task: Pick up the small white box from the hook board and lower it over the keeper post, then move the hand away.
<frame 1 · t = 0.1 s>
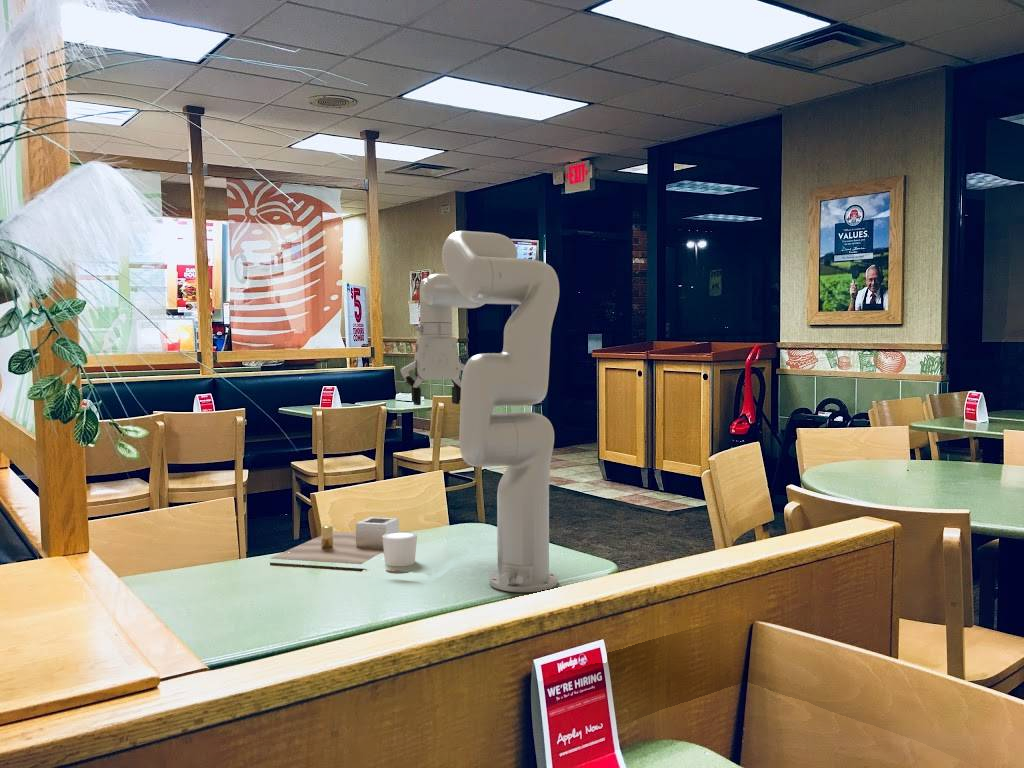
hand: (436, 404, 185), 31 cm above the table, tool pointing down, fingers open, 9 cm apart
keeper post: (327, 547, 169), resting on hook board
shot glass: (400, 570, 156), on the table
small white box: (377, 543, 172), point 1 cm above the table, touching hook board
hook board: (344, 553, 170), on the table
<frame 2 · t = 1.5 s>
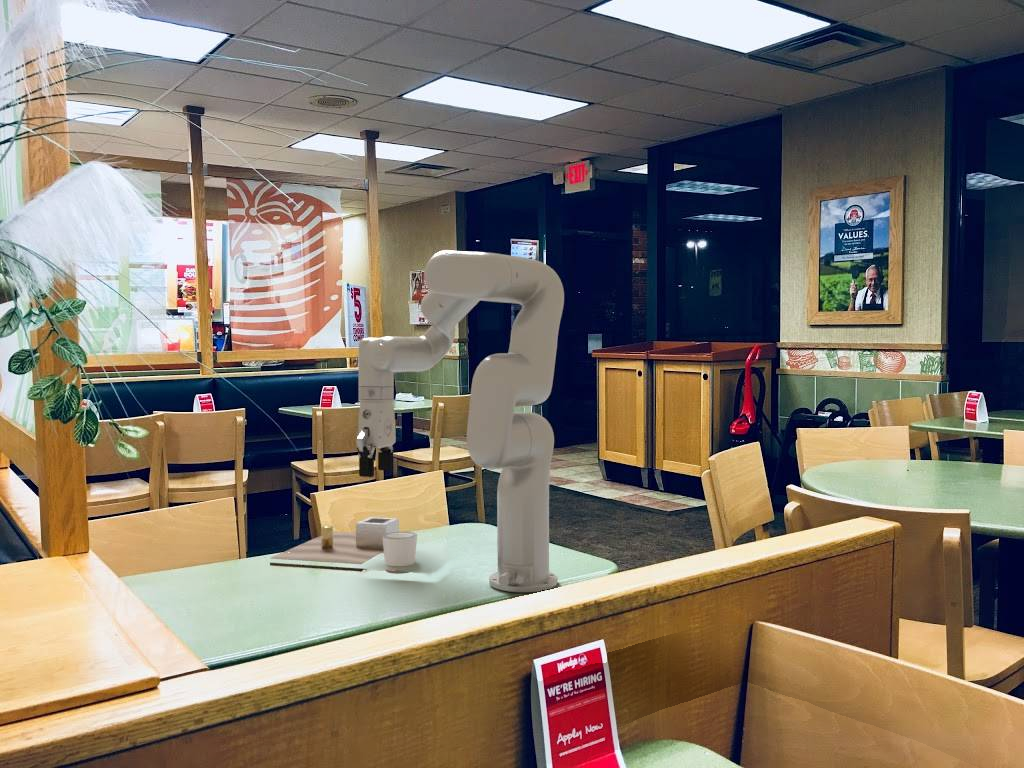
hand: (376, 473, 172), 17 cm above the table, tool pointing down, fingers open, 9 cm apart
nothing on the table moved.
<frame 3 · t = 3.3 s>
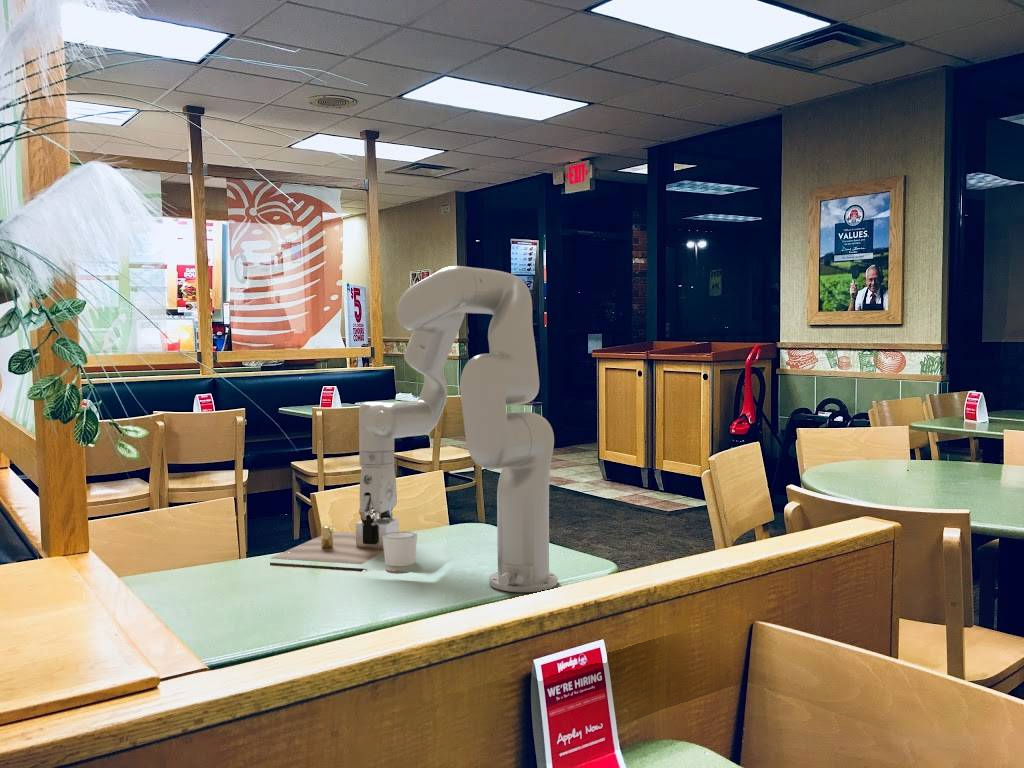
hand: (377, 539, 172), 2 cm above the table, tool pointing down, fingers closed on small white box, 7 cm apart
small white box: (377, 543, 172), point 2 cm above the table, touching gripper, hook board
everything else where it was.
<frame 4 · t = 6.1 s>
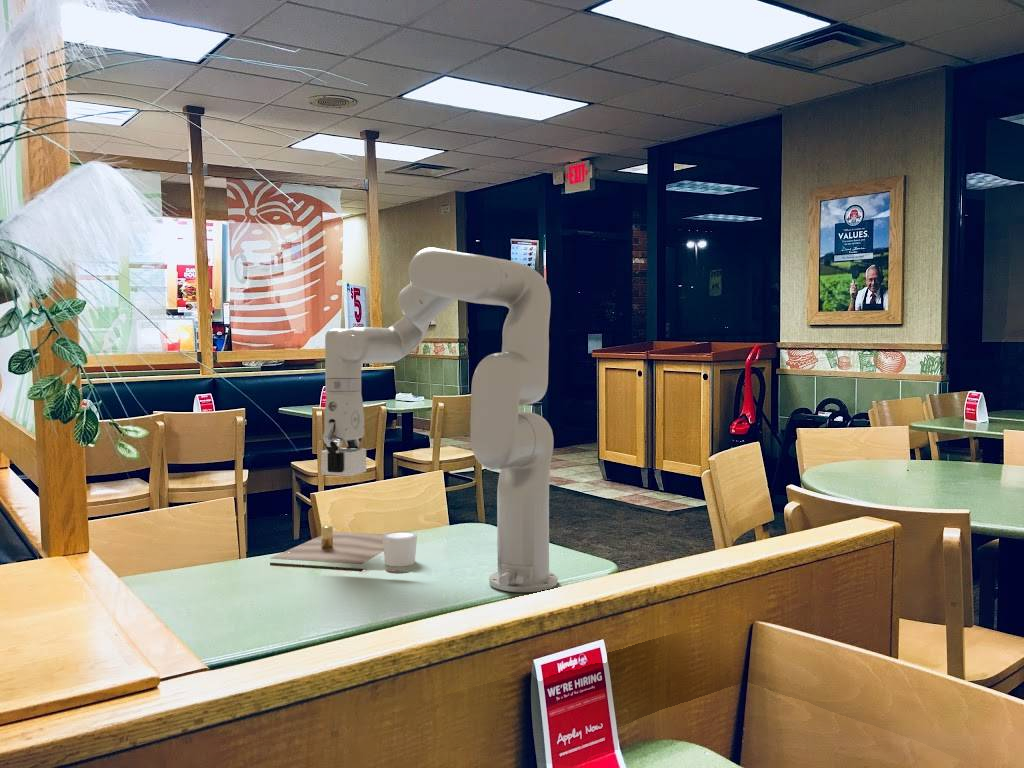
hand: (343, 468, 170), 18 cm above the table, tool pointing down, fingers closed on small white box, 7 cm apart
small white box: (344, 473, 170), point 17 cm above the table, touching gripper
everything else where it was.
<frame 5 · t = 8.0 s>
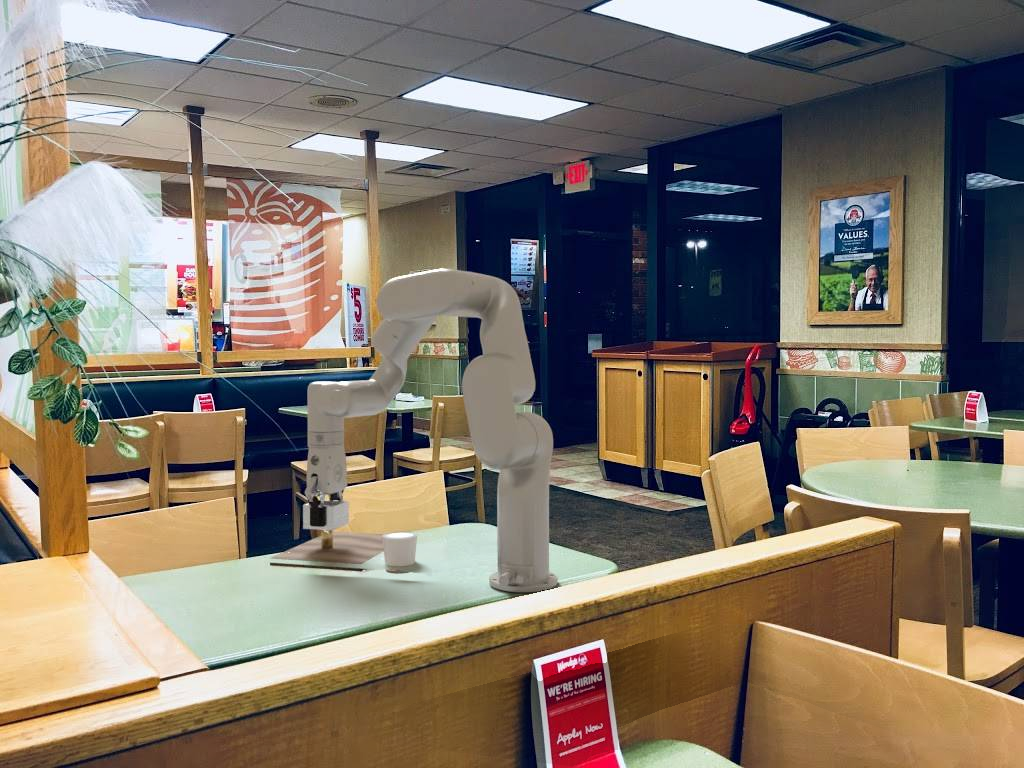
hand: (326, 521, 169), 7 cm above the table, tool pointing down, fingers closed on small white box, 7 cm apart
small white box: (326, 526, 169), point 6 cm above the table, touching gripper
everything else where it was.
when the fingers open (4 cm above the table, at t = 9.3 s): small white box drops 1 cm, resting on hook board.
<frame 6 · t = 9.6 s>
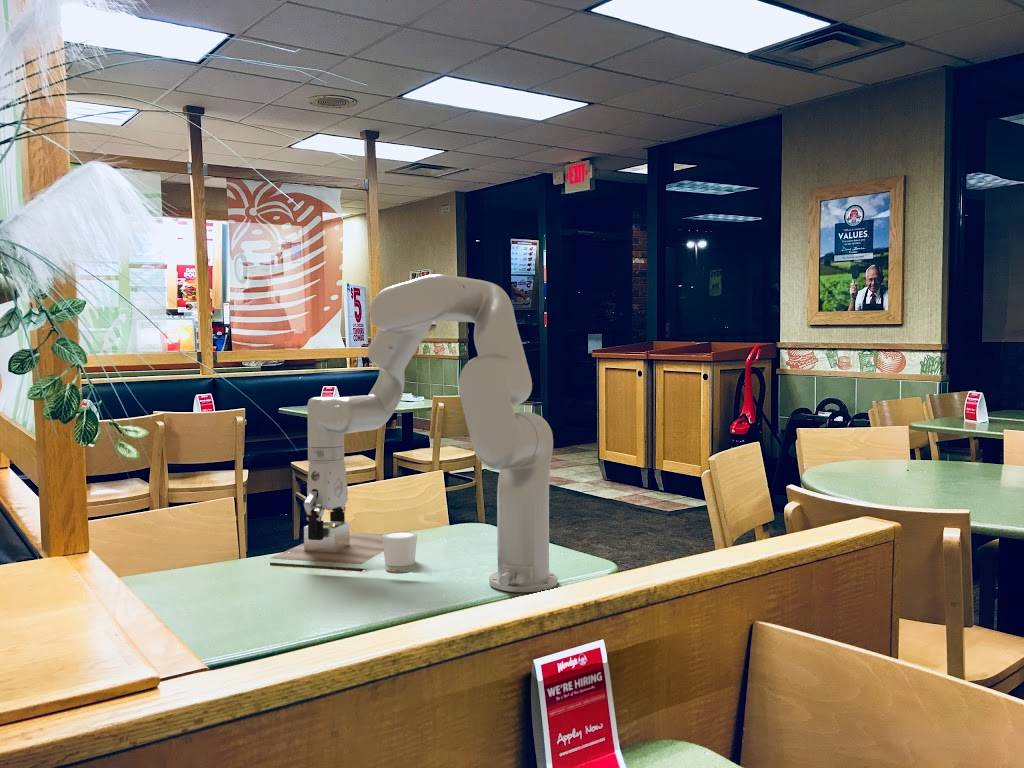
hand: (327, 534, 169), 4 cm above the table, tool pointing down, fingers open, 9 cm apart
small white box: (327, 547, 169), point 1 cm above the table, touching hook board
everything else where it was.
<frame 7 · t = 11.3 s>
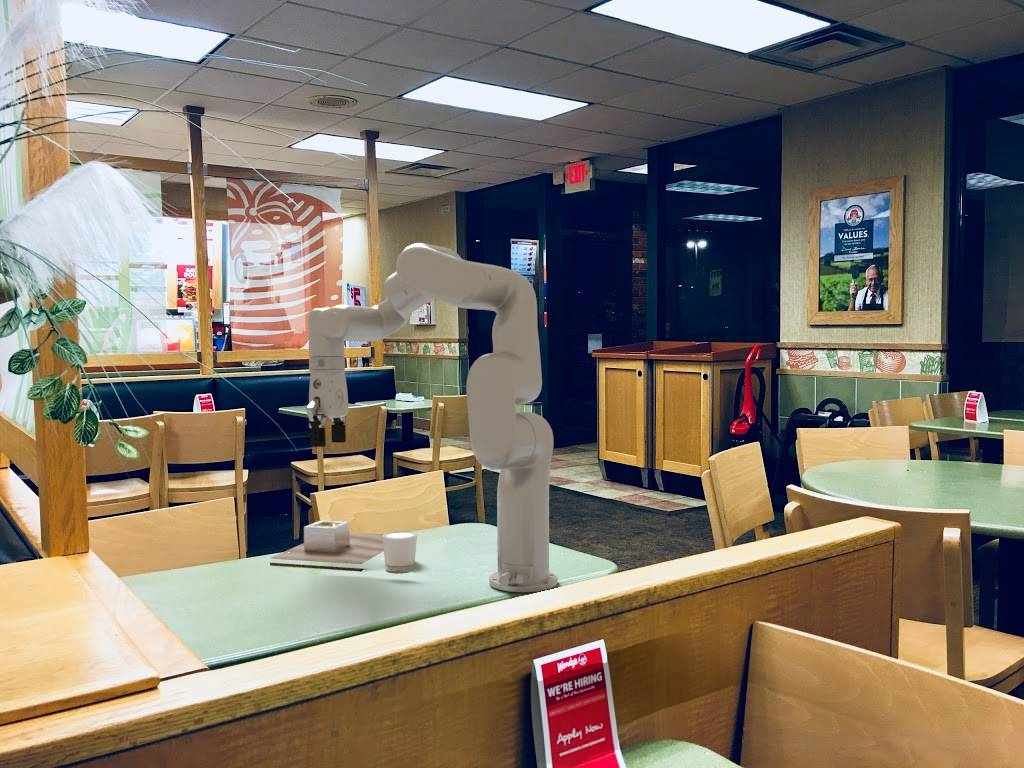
hand: (328, 444, 172), 23 cm above the table, tool pointing down, fingers open, 9 cm apart
nothing on the table moved.
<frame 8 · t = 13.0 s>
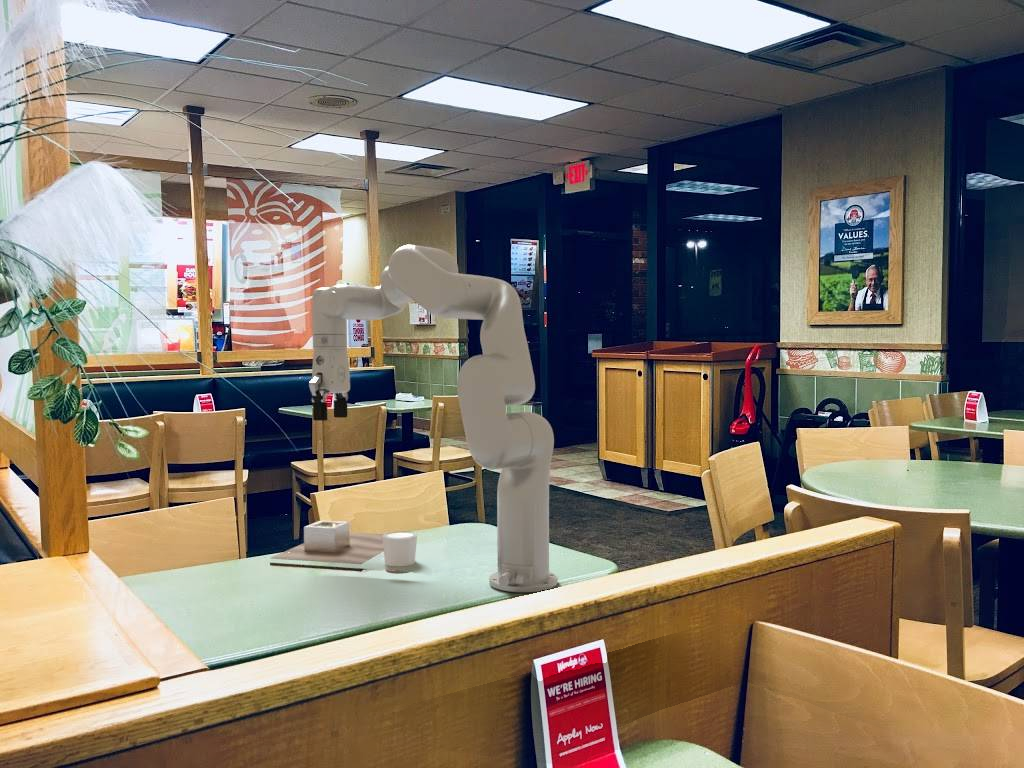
hand: (330, 418, 179), 28 cm above the table, tool pointing down, fingers open, 9 cm apart
nothing on the table moved.
at the end: small white box 0.1 cm from the keeper post (horizontally); small white box point 1.5 cm above the table; the gripper is holding nothing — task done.
